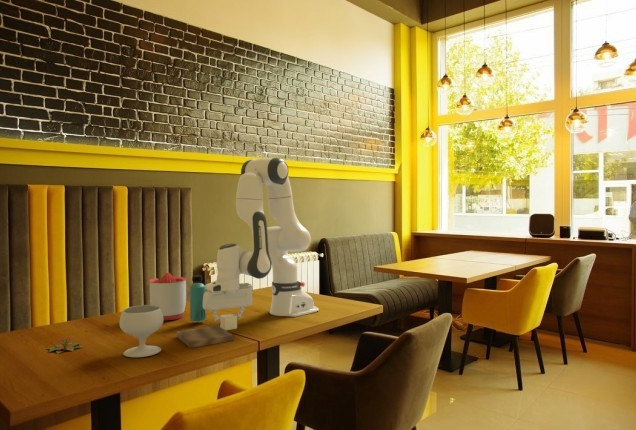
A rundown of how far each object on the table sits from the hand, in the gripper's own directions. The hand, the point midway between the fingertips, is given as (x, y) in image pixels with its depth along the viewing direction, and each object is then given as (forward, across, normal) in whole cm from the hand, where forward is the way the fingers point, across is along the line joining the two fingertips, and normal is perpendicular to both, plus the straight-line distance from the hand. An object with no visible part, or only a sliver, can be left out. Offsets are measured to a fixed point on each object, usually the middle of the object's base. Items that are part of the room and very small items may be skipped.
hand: (228, 319), depth 193 cm
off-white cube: (+4, 0, -1) cm, 4 cm away
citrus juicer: (+4, +15, -32) cm, 35 cm away
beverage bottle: (+4, +7, -15) cm, 17 cm away
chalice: (+5, +36, +12) cm, 38 cm away
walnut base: (+4, +13, +8) cm, 16 cm away
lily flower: (+5, +57, -8) cm, 58 cm away
